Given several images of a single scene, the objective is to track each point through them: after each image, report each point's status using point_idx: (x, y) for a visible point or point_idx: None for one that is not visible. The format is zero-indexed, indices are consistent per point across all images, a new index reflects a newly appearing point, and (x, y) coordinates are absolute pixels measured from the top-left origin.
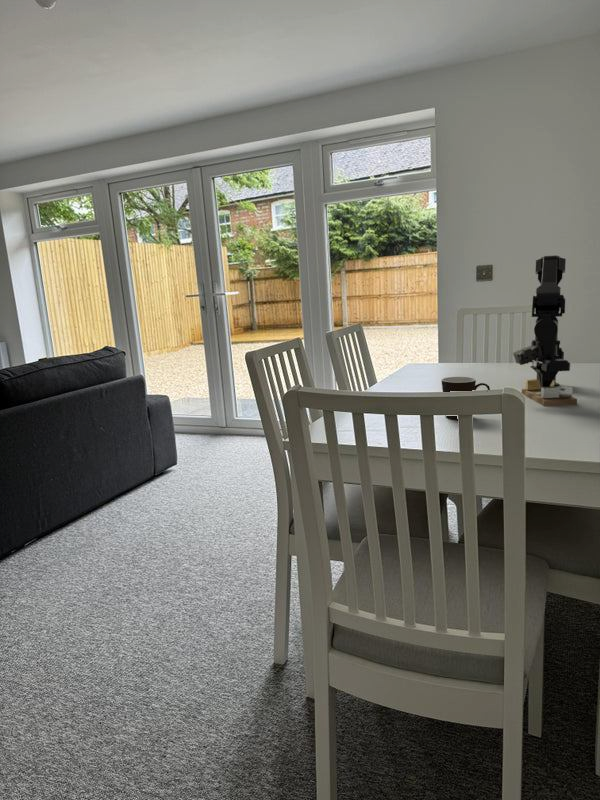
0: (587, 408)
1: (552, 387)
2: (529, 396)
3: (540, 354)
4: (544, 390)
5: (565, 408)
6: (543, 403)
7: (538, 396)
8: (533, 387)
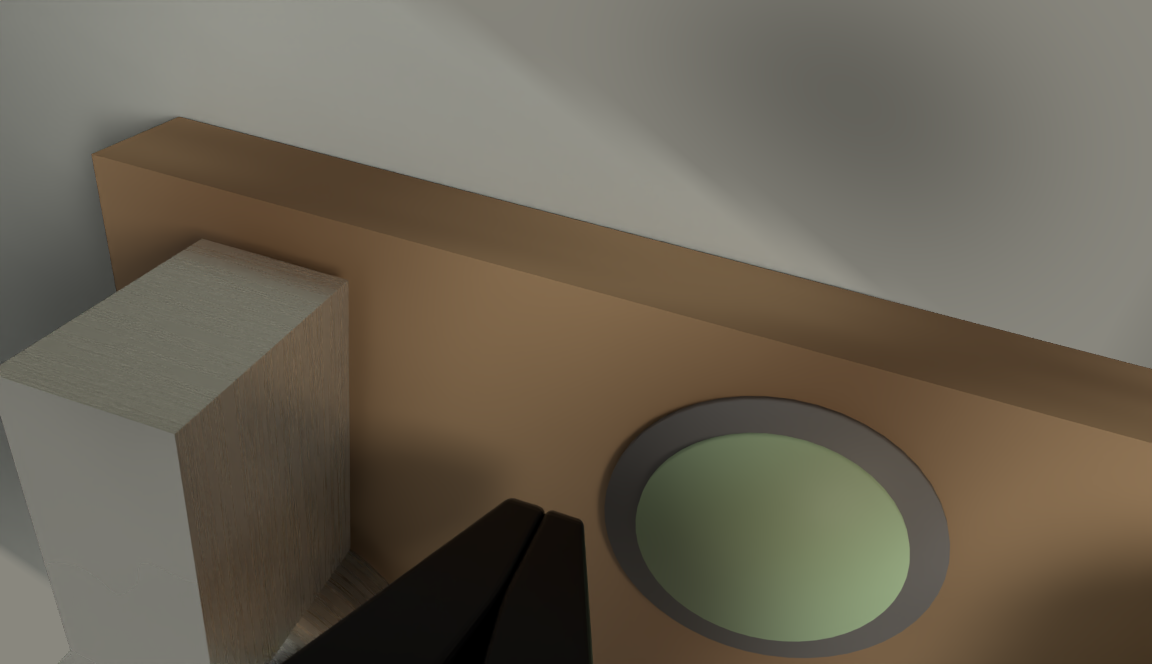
0: (26, 524)
1: (102, 597)
2: (1036, 358)
3: None
4: (50, 352)
5: (10, 316)
6: (163, 137)
7: (537, 326)
8: None
